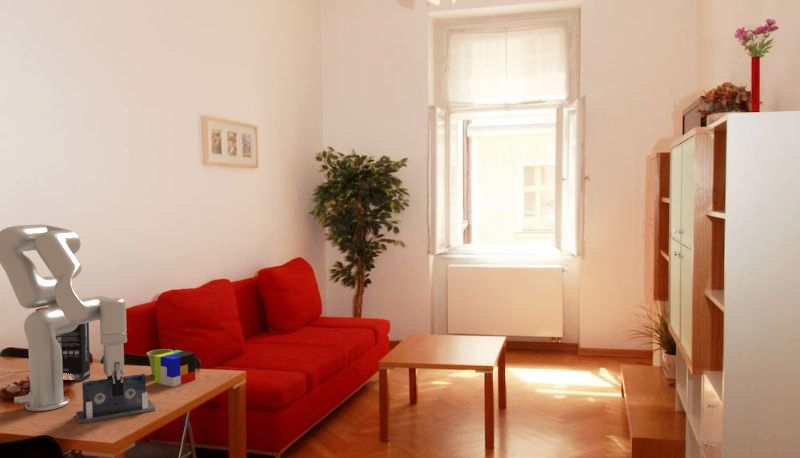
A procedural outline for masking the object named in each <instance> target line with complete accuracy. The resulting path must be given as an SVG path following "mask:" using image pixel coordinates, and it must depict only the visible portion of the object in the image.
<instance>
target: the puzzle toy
mask: <svg viewBox="0 0 800 458" xmlns="http://www.w3.org/2000/svg"><path fill="white" fill-rule="evenodd" d="M154 360H155V376H154V383H155V384H160V385H164V386H170V387H172V388H173V387H176V386H179V385H183V384H186V383H189V382H193V381H196V354H195V353H194V352H189V351H183V350H178V349H175V350H172V351H171V352H167V353H163V354H159V355H156V356H154Z"/></svg>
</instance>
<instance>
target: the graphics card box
mask: <svg viewBox="0 0 800 458" xmlns="http://www.w3.org/2000/svg"><path fill="white" fill-rule="evenodd" d="M47 308H49V307H48V306H42V307H37V308H35V311H38V310H42V309H47ZM89 323H90V322H88V323H84V324H78V326H77V328H76V329H75V330H74V331H72V332H69V333H66V334H62V335H58V336H56V339H57V341H58V343H59V344H60V346H61V350H62V369H63V373H67V374H68V373H69V374H70V373H71V374H73V375H74V377H75V381H74V382H84V381H85V380H86V379H89V377H91V361H90V359H91V357H90V327H89V326H90V325H89Z"/></svg>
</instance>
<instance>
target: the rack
mask: <svg viewBox="0 0 800 458" xmlns="http://www.w3.org/2000/svg"><path fill="white" fill-rule="evenodd" d="M148 398H149V397H148V392H147V391H146V392H141V405H142V406H141V407H135V408H128V409H123V410H116V411H110V412H104V413H98V414H92V400H89V401H86V416H85V415H84V413H83V410H80V411H76V412H75V416H76V419H77V422H78V424H85V423H90V422H96V421H101V420H103V421H104V420H107V419H108V420H109V419H114V418H119V417H126V416H132V415H137V414H143V413H148V412H149V411H150V412H154V411H156V406H155V404H153V402H152V401H151V400H150V399H148Z"/></svg>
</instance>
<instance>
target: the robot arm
mask: <svg viewBox="0 0 800 458" xmlns="http://www.w3.org/2000/svg"><path fill="white" fill-rule="evenodd" d="M80 249H81V239H80V237H79V236H78V235H77V233H76V232H75V231H73V230H70V229H67V228H64V227H63V228H62V227H57V226H52V225H50V224H49V225H48V224H27V225H26V224H25V225H23V224H22V225H12V226H9V227H5V228H3V229H1V230H0V265H1V267H2V269H3V270H4V272H5V274H6V276H7V278H8V280H9V283H10V286H11V287H12V290H13V292H14V294H15V297H16V299H17V301H18V303H19V305H20V306H21V307H22V308H25V309H38V308H41V307H49V308H47V309H42V310H38V311H36V310H35V311H33V312H31V313H30V314H28V315H27V316H26V318H25V320H24V322H23V330H24V334H25V337H26V341H27V347H28V348H27V349H28V367H29V368H28V369H29V392H28V394H25V396H14V399H13V403H14V404H18V405H21V404H25V408H24V409H25V410H27V411H30V412H43V411H51V410H56V409H59V408H62V407H64V406H67V405H68V404H69V403H70V399H69V397H67V396H64V381H63V369H62V350H61V346H60V344H59V343H58V341H57V339H56V336H58V335H62V334H66V333H69V332H72V331H74V330H75V329H76V328H77V326H78V324H84V323H88V322H89V323H91V322H97V321H99V325H100V327H99V328H100V345H101V346H103V372H104V375H106V379H109V378H112V381H113V383H112V396H113V397H114V396H121V395H123V394H124V393H123V379H122V377H123V374H125V354H124V353H125V351H124V344H125V343H127V342H128V338H127V337H128V336H127V335H128V333H127V331H128V330H127V304H126V301H125V299H124V298H120V297H112V298H111V297H107V296H103V295H97V296H92V297H86V298H81V299H80V298H79V297H78V295H77V293H75V291H74V289H73V285H72V282H73V280H74V279H75V278H76V277H78V276H79V275H80V273H81V271H82V270H83V267H82V264H81V263H80V262H79V259H78V258H77V257H76V256H75V254H76V253H78V252H79V250H80ZM29 251H36V252H37V254H38V256H39V257H40V258H41V260H42V261H43V263H44V265H45V266H46V267H47V269H48V271H50V273H51V276H49V275H48V276H44V277H43V276H40V273H39V272H38V269H37V267H36V265H35V264H34V263H35V262H33V261H32V260H31V259H30V258H29V256H27V255H25V254H24V252H29Z"/></svg>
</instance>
